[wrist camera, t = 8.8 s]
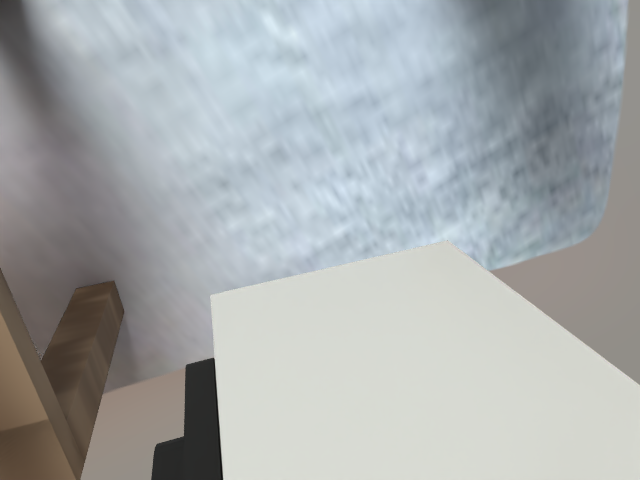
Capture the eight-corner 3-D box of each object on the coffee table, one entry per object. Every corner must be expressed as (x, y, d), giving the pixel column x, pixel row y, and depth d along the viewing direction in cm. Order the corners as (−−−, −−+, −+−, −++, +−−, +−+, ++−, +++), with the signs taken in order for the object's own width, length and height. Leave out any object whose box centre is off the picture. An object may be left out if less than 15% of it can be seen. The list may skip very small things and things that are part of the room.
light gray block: (447, 240, 10) (743, 462, 5) (451, 420, 12) (661, 721, 7) (210, 294, 9) (234, 645, 4) (256, 478, 11) (316, 879, 6)
